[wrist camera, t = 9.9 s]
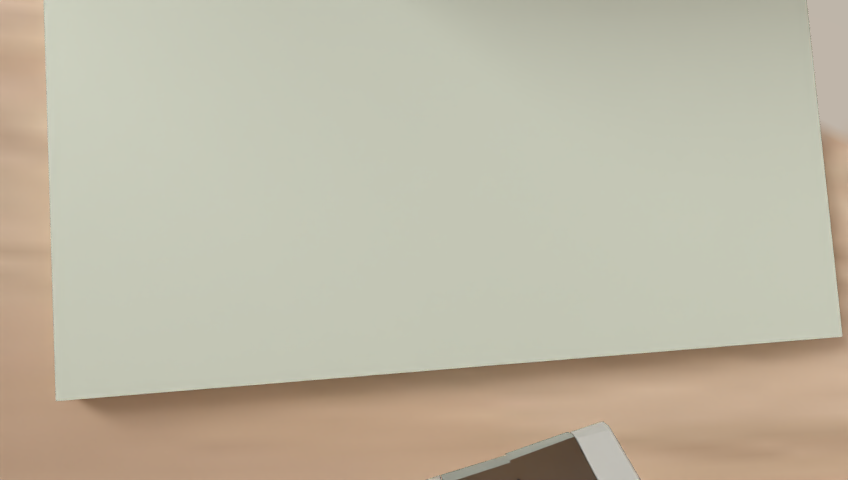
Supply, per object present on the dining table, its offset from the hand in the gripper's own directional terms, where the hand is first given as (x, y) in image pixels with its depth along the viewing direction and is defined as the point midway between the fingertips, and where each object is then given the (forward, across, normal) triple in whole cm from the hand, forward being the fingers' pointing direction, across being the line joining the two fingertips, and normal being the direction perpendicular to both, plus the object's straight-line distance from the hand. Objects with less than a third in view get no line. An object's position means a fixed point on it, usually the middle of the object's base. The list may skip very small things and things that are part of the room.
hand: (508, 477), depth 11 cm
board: (+16, -4, -8) cm, 19 cm away
